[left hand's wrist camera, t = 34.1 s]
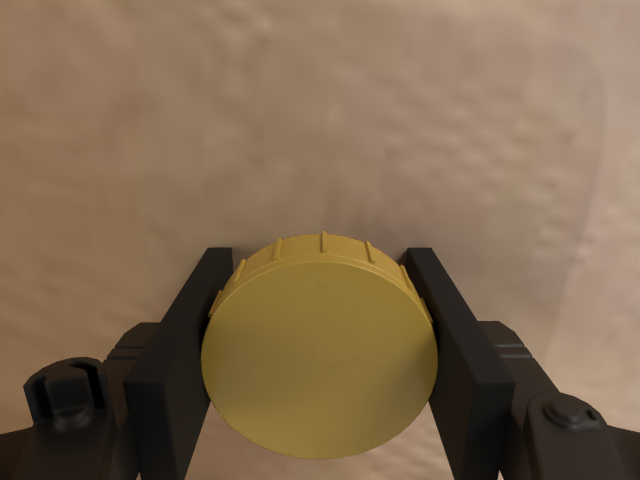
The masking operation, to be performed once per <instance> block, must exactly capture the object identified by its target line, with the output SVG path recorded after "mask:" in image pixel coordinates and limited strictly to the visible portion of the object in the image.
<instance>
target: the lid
mask: <svg viewBox="0 0 640 480" xmlns="http://www.w3.org/2000/svg"><path fill="white" fill-rule="evenodd" d="M208 317H210V318H211V319H210V321H209V324H208V326H207V328H206V331H205V333H204V337H203V341H202V345H201V356H200V360H201V371H202V377H203V382H204V385H205V388H206V391H207V393H208V396H209V398H210V400H211V401H212V403H213V405H214V407H215V408H216V410H217V411H218V412H219V414H220V415H221V416H222V418H223V419H224V420H225V421H226V422H227V423H228V424H229V425H230V426H231V427H232V428H233V429H235V430H236V431H237V432H238V433H240V434H241V435H242V436H244V437H245V438H247V439H249V440H250V441H252V442H253V443H255V444H257V445H259V446H261V447H264V448H266V449H268V450H271V451H274V452H277V453H280V454H283V455H288V456H292V457H298V458H305V459H333V458H341V457H347V456H352V455H355V454H359V453H363V452H365V451H368V450H371V449H373V448H376V447H378V446H380V445H382V444H383V443H385V442H387V441H389V440H391V439H392V438H394V437H395V436H397V435H398V434H399V433H401V432H402V431H403V430H404V429H405V428H406V427H408V426H409V425H410V424H411V423H412V422H413V421H414V419H415V418H416V417H417V416H418V415H419V414H420V412H421V411H422V409H423V408H424V406H425V405H426V403H427V401H428V399H429V397H430V395H431V393H432V391H433V388H434V385H435V382H436V377H437V370H438V347H437V341H436V337H435V334H434V331H433V328H432V326H433V325H434V323H433V320H432V318H431V316H430V313H429V311H428V309H427V307H426V305H425V302H424V300H423V298H419V296H418V294H417V292H416V290H415V288H414V285H413V283H412V282H411V280H410V279H409V277H408V275H407V272H406V270H405V268H404V266H403V265H401V266H399V265H398V264H397V263H396V262H394V261H393V260H392V259H391V258H390V257H388V256H387V255H386V254H384V253H383V252H381V251H379V250H378V249H376V248H375V247H373V246H371V244H370V242H368V241H366V243H364V242H361V241H359V240H355V239H352V238H348V237H344V236H338V235H332V234H327V232H326V231H322V234H309V235H300V236H295V237H291V238H287V239H284V240H282V237H281V238H278V240H277V242H275V243H273V244H271V245H269V246H267V247H265V248H263V249H261V250H259V251H258V252H256V253H255V254H253V255H252V256H250V257H249V258H248V259H247V260H245V259H242V260H241V262H240V265H239V267H238V269H237V270H236V271H235V272H234V273H233V275H232V276H231V277H230V279H229V281H228V282H227V284H226V285H225V287H224V289H223V291H221V290H219V292H218V295H217V297H216V299H215V301H214V303H213V306H212V308H211V310H210V312H209V315H208Z"/></svg>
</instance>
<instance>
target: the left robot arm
mask: <svg viewBox="0 0 640 480" xmlns="http://www.w3.org/2000/svg"><path fill="white" fill-rule="evenodd" d="M406 272H407V275H408V277H409V279H410V280H411V282H412V283H413V285H414V288H415V290H416V292H417V294H418V296H419V298H423V300H424V302H425V305H426V307H427V309H428V311H429V313H430V316H431V318H432V320H433V323H434V325H433V326H432V328H433V331H434V334H435V337H436V341H437V347H438V370H437V377H436V382H435V385H434V388H433V391H432V393H431V395H430V397H429V399H428V401H429V404H430V407H431V410H432V413H433V416H434V419H435V422H436V425H437V428H438V431H439V434H440V437H441V440H442V443H443V446H444V449H445V452H446V455H447V458H448V461H449V464H450V467H451V470H452V473H453V476H454V479H455V480H497V479H498V474H499V470H500V472H501V474H502V476H503V479H504V480H640V433H639V432H634V431H630V430H625V429H621V428H616V427H613V426H609V425H607V423H606V422H605V420H604V419H603V417H602V416H601V414H600V413H599V412H598V411H597V410H595V409H594V408H593V407H592V406H591V405H589V404H588V403H586V402H584V401H582V400H580V399H578V398H576V397H574V396H571V395H567V394H564V393H560V392H559V390H558V389H557V388H556V386H555V385H554V384H553V382H552V381H551V380H550V378H549V377H548V376H547V374H546V373H545V372H544V370H543V369H542V368H541V366H540V365H539V364H538V362H537V361H536V360H535V358H532V354H531V353H530V352H529V350H528V349H527V348H526V347H524V344H523V342H522V341H521V340H520V338H519V337H518V336H517V334H516V333H515V332H514V331H513V330H511V329H510V328H508V327H507V326H505V325H504V324H502V323H501V322H499V321H477V319H476V318H475V316H474V315H473V313H472V312H471V310H470V308H469V307H468V305H467V304H466V302H465V300H464V299H463V297H462V296H461V294H460V293H459V291H458V289H457V288H456V286H455V285H454V283H453V282H452V280H451V278H450V277H449V275H448V274H447V272H446V271H445V269H444V267H443V266H442V264H441V263H440V261H439V260H438V258H437V256H436V255H435V253H434V252H433V250H432V248H407V261H406ZM232 275H233V261H232V248H208V249H207V250H206V252H205V253H204V255H203V256H202V258H201V259H200V261H199V263H198V264H197V266H196V267H195V269H194V270H193V272H192V274H191V275H190V277H189V278H188V280H187V281H186V283H185V285H184V286H183V288H182V289H181V291H180V292H179V294H178V296H177V297H176V299H175V300H174V302H173V303H172V305H171V307H170V308H169V310H168V311H167V313H166V314H165V316H164V318H163V319H162V321H161V322H160V323H139V324H138V325H136V326H135V327H133V328H132V329H130V330H129V331H127V332H126V333H124V335H123V336H122V337H121V339H120V340H119V341H118V343H117V344H116V345H115V349H112V351H111V352H110V353H109V355H108V356H107V360H104V361H103V363H101V362H100V361H99V360H98V359H94V358H89V357H77V358H70V359H66V360H62V361H58V362H55V363H53V364H51V365H49V366H46V367H44V368H42V369H41V370H39V371H38V372H36V373H35V374H34V375H32V376H31V377H30V378H29V379H28V380H27V382H26V383H25V384H24V385H23V388H24V392H25V395H26V398H27V402H28V405H29V409H30V412H31V415H32V419H33V422H34V424H33V427H30V428H26V429H23V430H18V431H14V432H9V433H5V434H0V480H136V478H137V476H138V474H139V472H140V476H141V480H184V479H185V476H186V473H187V470H188V467H189V464H190V461H191V458H192V455H193V452H194V449H195V446H196V443H197V440H198V437H199V434H200V431H201V428H202V425H203V422H204V419H205V416H206V413H207V410H208V407H209V404H210V401H211V400H210V398H209V396H208V393H207V391H206V388H205V385H204V382H203V377H202V371H201V360H200V356H201V345H202V341H203V337H204V333H205V331H206V328H207V326H208V324H209V321H210V319H211V318H210V317H208V315H209V312H210V310H211V308H212V306H213V303H214V301H215V299H216V297H217V295H218V292H219V290H221V291H223V289H224V287H225V285H226V284H227V282H228V281H229V279H230V277H231V276H232Z"/></svg>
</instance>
